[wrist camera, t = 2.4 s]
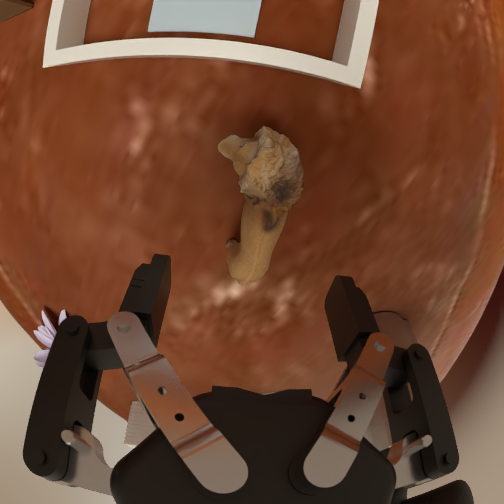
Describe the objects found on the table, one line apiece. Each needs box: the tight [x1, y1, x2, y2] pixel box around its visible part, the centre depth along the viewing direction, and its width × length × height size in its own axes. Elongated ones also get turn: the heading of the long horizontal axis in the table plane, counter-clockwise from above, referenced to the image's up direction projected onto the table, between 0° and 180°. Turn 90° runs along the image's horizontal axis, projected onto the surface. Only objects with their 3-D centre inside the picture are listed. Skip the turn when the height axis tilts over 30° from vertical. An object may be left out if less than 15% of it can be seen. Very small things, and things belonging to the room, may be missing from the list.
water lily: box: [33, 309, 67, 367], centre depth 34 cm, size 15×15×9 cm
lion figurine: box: [218, 126, 304, 285], centre depth 20 cm, size 15×5×9 cm, turn 177°
